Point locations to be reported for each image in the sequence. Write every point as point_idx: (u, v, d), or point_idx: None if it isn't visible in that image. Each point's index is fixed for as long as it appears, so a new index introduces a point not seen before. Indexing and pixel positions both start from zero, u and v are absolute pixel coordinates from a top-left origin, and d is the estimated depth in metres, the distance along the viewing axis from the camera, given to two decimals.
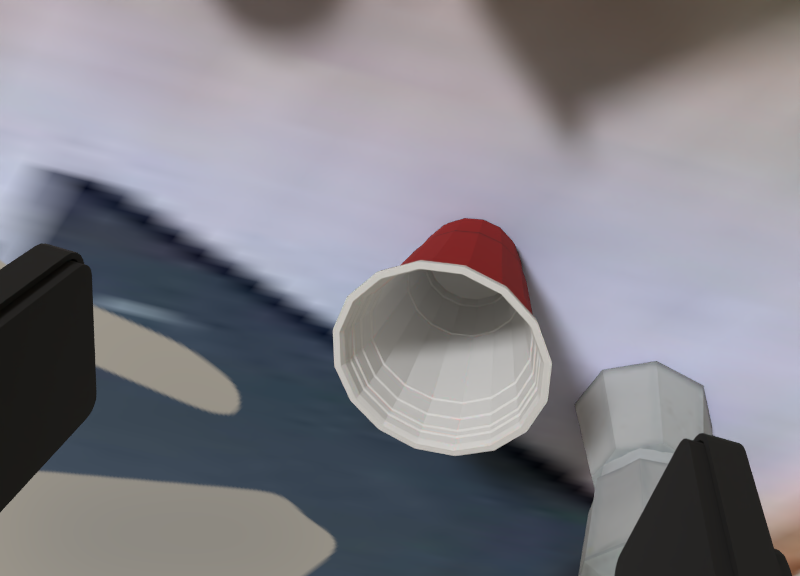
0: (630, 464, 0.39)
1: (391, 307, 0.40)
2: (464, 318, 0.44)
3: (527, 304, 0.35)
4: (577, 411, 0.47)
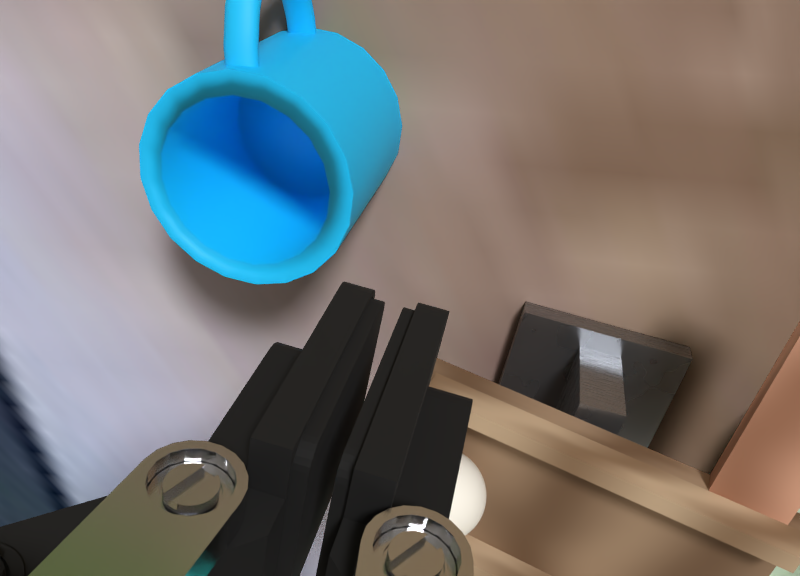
0: None
1: None
2: None
3: None
4: None
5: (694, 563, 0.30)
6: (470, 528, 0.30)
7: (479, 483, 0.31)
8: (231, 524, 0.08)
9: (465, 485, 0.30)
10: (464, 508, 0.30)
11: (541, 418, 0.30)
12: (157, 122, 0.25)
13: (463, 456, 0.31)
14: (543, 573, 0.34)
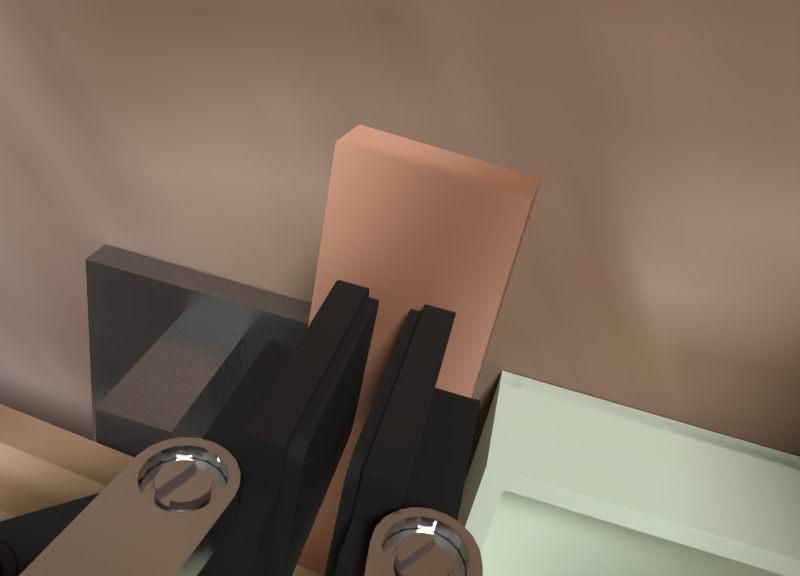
0: None
1: None
2: None
3: None
4: None
5: None
6: None
7: None
8: (224, 520, 0.08)
9: None
10: None
11: (1, 444, 0.17)
12: None
13: None
14: None
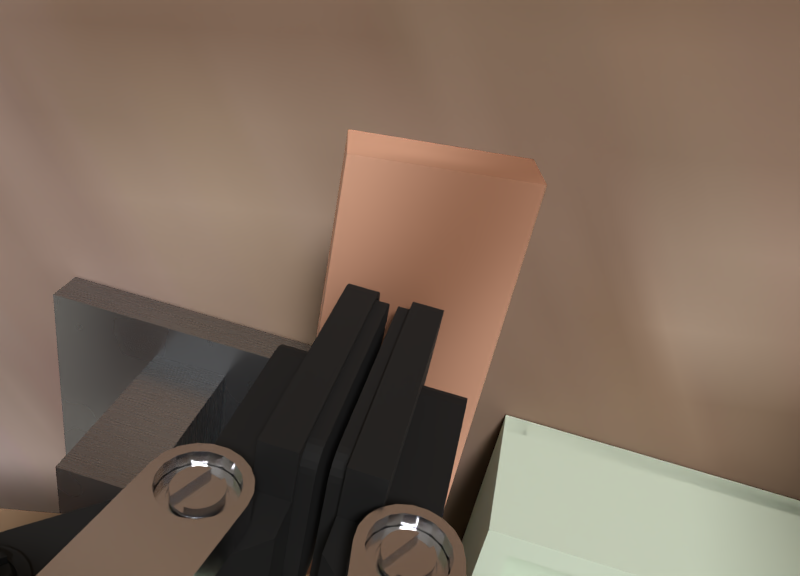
0: None
1: None
2: None
3: None
4: None
5: None
6: None
7: None
8: (236, 529, 0.08)
9: None
10: None
11: None
12: None
13: None
14: None
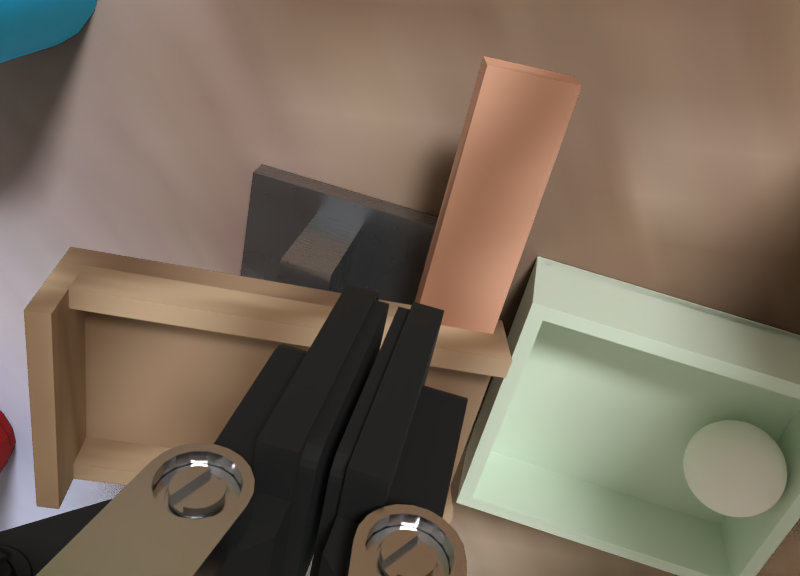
0: None
1: None
2: None
3: None
4: None
5: None
6: None
7: None
8: (236, 528, 0.08)
9: (778, 447, 0.30)
10: (786, 467, 0.30)
11: (224, 289, 0.25)
12: None
13: (744, 422, 0.30)
14: None
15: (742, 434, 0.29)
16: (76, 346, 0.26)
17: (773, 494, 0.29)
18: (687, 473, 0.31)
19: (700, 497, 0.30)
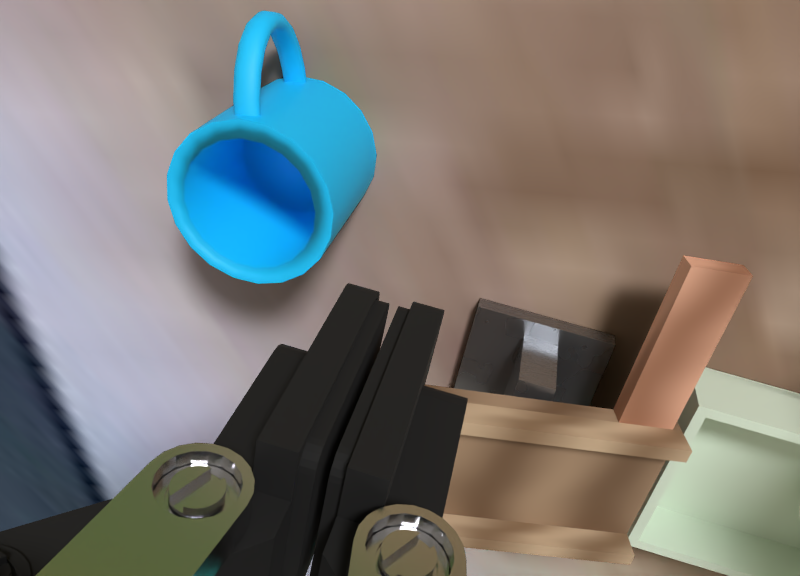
0: None
1: None
2: None
3: None
4: None
5: (611, 475, 0.39)
6: None
7: None
8: (236, 528, 0.08)
9: None
10: None
11: (489, 406, 0.36)
12: (181, 158, 0.33)
13: None
14: (497, 520, 0.41)
15: None
16: None
17: None
18: None
19: None
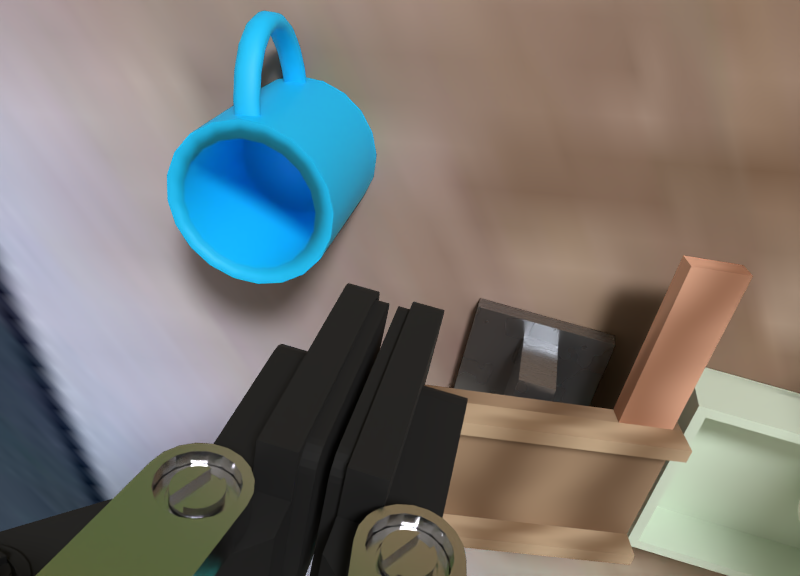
0: None
1: None
2: None
3: None
4: None
5: (611, 475, 0.39)
6: None
7: None
8: (237, 528, 0.08)
9: None
10: None
11: (489, 406, 0.36)
12: (181, 158, 0.33)
13: None
14: (497, 521, 0.41)
15: None
16: None
17: None
18: None
19: None
